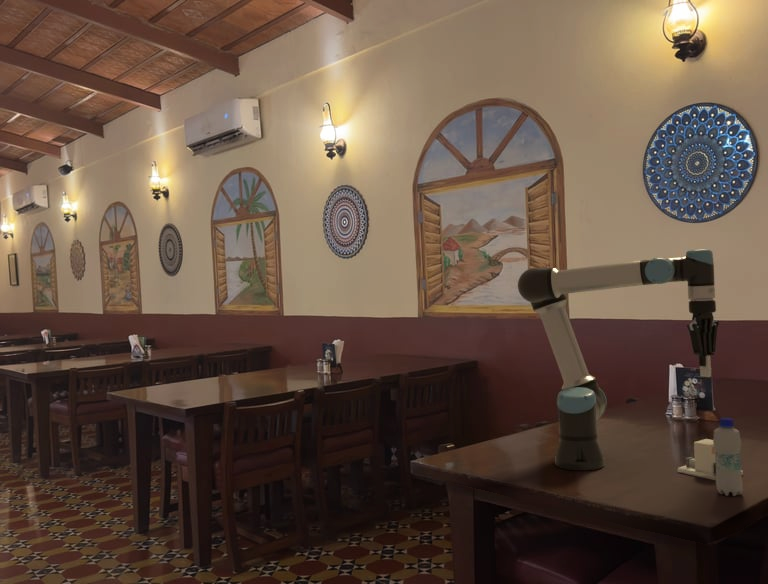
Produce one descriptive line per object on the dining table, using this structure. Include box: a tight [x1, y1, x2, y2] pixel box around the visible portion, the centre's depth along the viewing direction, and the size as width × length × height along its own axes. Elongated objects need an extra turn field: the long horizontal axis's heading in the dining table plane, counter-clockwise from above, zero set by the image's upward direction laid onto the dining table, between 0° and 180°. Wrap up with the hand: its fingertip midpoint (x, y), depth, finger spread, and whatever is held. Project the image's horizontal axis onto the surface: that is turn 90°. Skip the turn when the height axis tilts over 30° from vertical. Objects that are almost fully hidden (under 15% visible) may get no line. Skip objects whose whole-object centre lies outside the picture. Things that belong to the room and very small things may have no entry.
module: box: [693, 438, 716, 473], centre depth 202 cm, size 6×5×8 cm
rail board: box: [677, 456, 744, 481], centre depth 202 cm, size 10×14×3 cm
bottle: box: [712, 417, 744, 497], centre depth 183 cm, size 7×7×20 cm
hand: (705, 376), depth 213 cm, fingers closed
